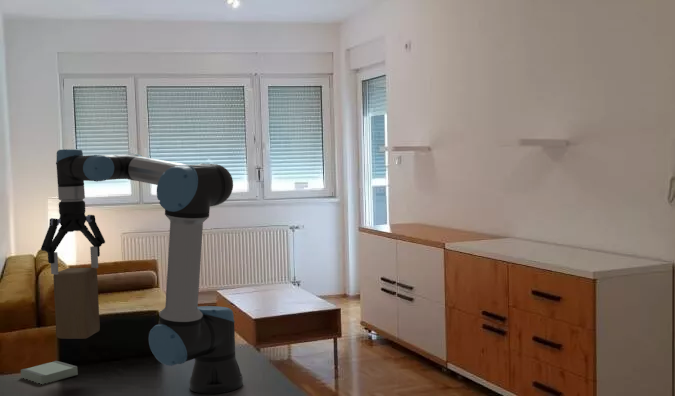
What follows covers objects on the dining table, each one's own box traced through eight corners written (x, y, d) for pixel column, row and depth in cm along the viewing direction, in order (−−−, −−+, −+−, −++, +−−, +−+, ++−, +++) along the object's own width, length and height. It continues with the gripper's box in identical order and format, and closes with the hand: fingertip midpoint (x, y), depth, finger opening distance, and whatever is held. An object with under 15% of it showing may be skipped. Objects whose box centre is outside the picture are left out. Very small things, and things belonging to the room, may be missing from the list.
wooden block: (101, 331, 237) (98, 267, 235) (87, 339, 227) (84, 272, 225) (70, 331, 238) (67, 267, 236) (55, 339, 228) (51, 272, 226)
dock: (77, 374, 237) (77, 366, 237) (41, 384, 227) (41, 376, 227) (56, 368, 244) (56, 360, 244) (21, 378, 235) (20, 369, 235)
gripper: (100, 197, 241) (103, 264, 243) (26, 203, 222) (30, 275, 224) (114, 197, 236) (117, 266, 238) (39, 204, 217) (43, 278, 219)
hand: (75, 270), depth 231 cm, fingers closed on wooden block, 13 cm apart
